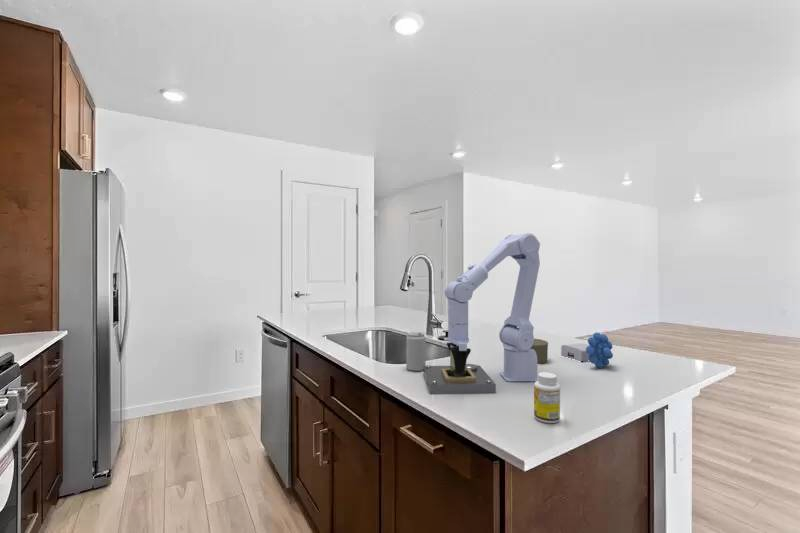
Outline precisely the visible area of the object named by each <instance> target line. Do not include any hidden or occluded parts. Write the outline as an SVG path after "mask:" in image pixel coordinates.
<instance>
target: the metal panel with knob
mask: <svg viewBox="0 0 800 533" xmlns="http://www.w3.org/2000/svg"><path fill="white" fill-rule="evenodd" d="M422 372H423V373H422V374H423V376H424V380H425V384H426V387H427V390H428V393H429V395H437V394H438V395H443V394H446V395H447V394H448V395H449V394H452V393H453V394H454V393H455V394H454V395H459V393H462V394H463V393H465V394H496V389H497V388H496V387H497V386H496V385H497V384H496V383H495V382H494V381H493V379H492V377H491V376H489V374H488V373H487V372H486V371H485V370H484V369H483V368H482V366H481V365H478V364H474V363H466V376H462V377H450V365H430V364H426V366H423V371H422ZM456 393H458V394H456ZM453 394H452V395H453Z"/></svg>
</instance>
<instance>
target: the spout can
mask: <svg viewBox="0 0 800 533" xmlns="http://www.w3.org/2000/svg"><path fill="white" fill-rule="evenodd" d="M457 346H458V345H456V347H457ZM450 347H455V346H453V345H450ZM449 354H450V355H449V359H450V360H449V361H450V362H449V366H450V377H462V376H466V365H465V369H464V373H456V370H455V365H454V358H453V355H452V352H451V350H450V351H449Z"/></svg>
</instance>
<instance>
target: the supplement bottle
mask: <svg viewBox="0 0 800 533" xmlns="http://www.w3.org/2000/svg"><path fill="white" fill-rule="evenodd" d="M537 379H538V381H534V385H533V386H534V390H533V393H534V394H533V395H534V396H533V400H534V401H533V402H534V403H533V405H534V406H533V411H534V412H533V415H534V418H535V419H536V420H538V422H541V423H544V424H545V423H546V424H556V423H558V422H559V421H560V419H561V385H560V384H559V383H558V382H557V375H556V374H555V373H552V372H546V371H545V372H542V371H541V372H539V373H537Z"/></svg>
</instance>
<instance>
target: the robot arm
mask: <svg viewBox="0 0 800 533" xmlns="http://www.w3.org/2000/svg"><path fill="white" fill-rule="evenodd" d="M540 247H541V243H540V241H539V240H538V238H537V237H536V236H535V235H534V234H533V233H529V232H527V233H523V234H521V233H520V234H508V235H507V236H505V237H504V238H503V239H502V240H500V241H499V243H498V245H497V246H496V247H495V248H493V250H492V251H491V252H490V253H489V254H488V255H487V256H486V257H485V258H484V259H483V260H482V261H481V262H480V263H474V264H470V265H468V267H467V270H465V271H464V272H463V273H462V274H461V275H459V276H457V277H456V280H454V281H451V282H449V283H448V285H446V288H445V290H444V296H445V298H446V299H447V302H448V303H447V306H448V309H447V310H448V312H447V313H448V317H447V318H448V320H447V323H448V325H447V328H448V330H447V332H448V336H447V337H444V339H443V340H444V342H447V343H446V344H445V345H446V346H447V348H448V350H449V352H450V350H451V352H452V355H453V358H454V365H455V370H456V373H464V369H465V365H466V364H467V360H468V357H469V356H470V354H471V351H472V349H471V348H470V347H469V348H468V347H467V345H468V343H469V341H470V338H469V301H470V300H471V299H472V298H473V294H474V292H475V290H476V289H477V288H479V287H480V286H481V285H482V284H484V282H485V281H486V280H487V279H488V278H489V272H490V271H492V270H493V269H494V268H495V267H496V266H498V265H499V264H500V263H501V262H502V261H504V260H505V259H506V258H507V257H511V258H512V259H514V260H515V261H516V263H517V264H518V265H519V271H518V277H517V282H516V285H515V286H516V287H515V290H514V291H515V292H514V297H513V301H512V306H511V311H510V316H508V317H507V318H505V320H504V322H503V325H502V327H501V328H500V331H499V340H500V342H501V343H502V347H503V371H499V375H500V376H501V377H502V378H503V379H504V380H505V382H536V381H538V365H537V354H536V352H535V350H534V349H530V348H531V347H532V345H533V343H534V339H535V336H534V325H533V324H532V323H531V320H530V315H531V310H532V304H533V300H534V295H535V290H536V286H537V280H538V276H539V270H540V265H541V264H540V263H541V262H540V253H539V252H540ZM450 345H453V346H455V347H450ZM456 345H458V346H457V347H456Z"/></svg>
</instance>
